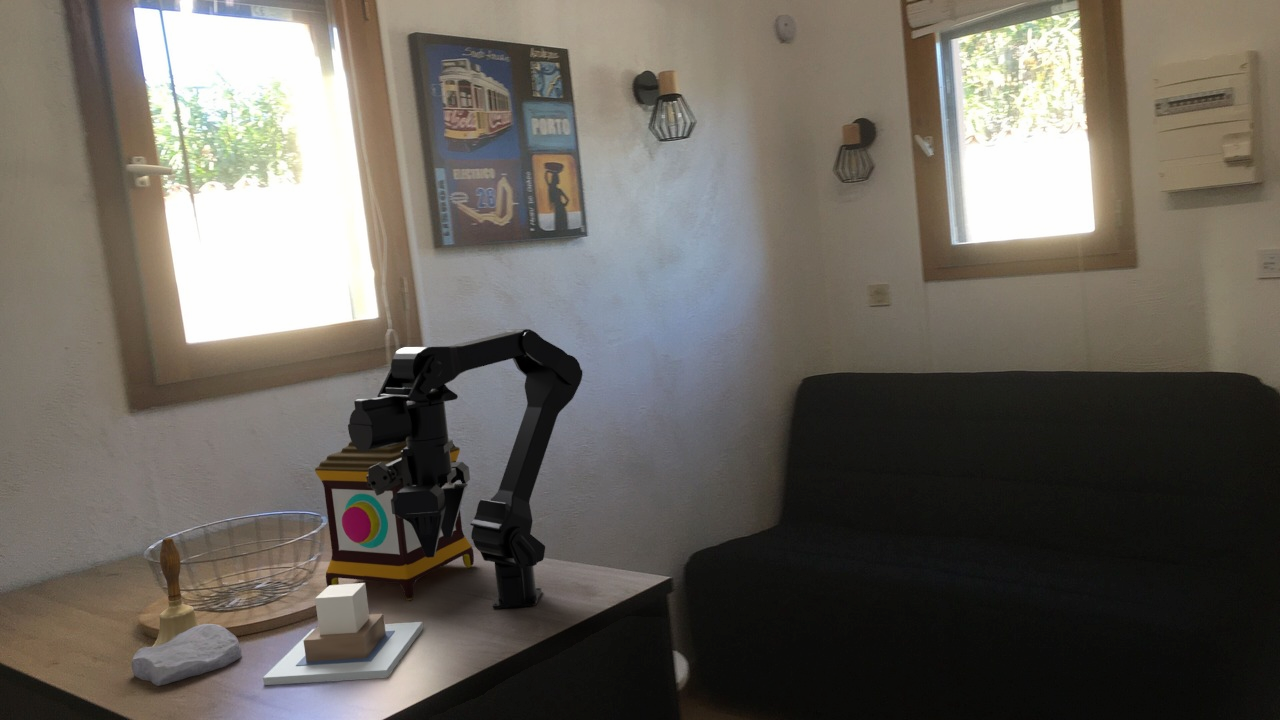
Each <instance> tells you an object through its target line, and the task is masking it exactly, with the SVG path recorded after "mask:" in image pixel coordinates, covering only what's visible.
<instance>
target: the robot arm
mask: <svg viewBox="0 0 1280 720" xmlns="http://www.w3.org/2000/svg"><path fill="white" fill-rule="evenodd" d="M511 359H512V361H513V363H514V366H515V367H516V370H518V371H519V372H520V373H521V374H522V375H524V376H525V381H524V382H525V383H524V391H525V392H524V393H525V397H526V402H527V404H526V408H525V411H524V414H523V417H522V420H521V423H520V426H519V428H518V431H517V435H516V438H515V440H514V443H513V447H512V449H511V453H510V455H509V458H508V462H507V464H506V467H505V469H504V473H503V477H502V478H501V481H500V484H499V487H498V490H497V491H496V493H495V494H494V496H492V497H491V498H490V499H489V500H488V499H482V498H481V499H480V500H479V502H478V504H477V508H476V513H475V515H474V517H473V520H472V521H470V526H472V530H471V533H470V534H471V535H470V536H471V540H472V541H473V545H474V547H475V548H476V549H477V551H479V552H480V554H481V557H482V559H483V561H484V562H492V563H494V570H495V572H494V573H495V579H496V590H497V595H496V597H495V600H494V601H493V602H492V609H505V608H507V609H508V608H518V607H519V608H521V607H533V606H536V605H537V604H538V601H539V599H540V596H541V595H542V592H543V590H542V588H541V587H536V577H535V567H534V566H537V565H538V563H540V562H542V561H543V560H544V559H545V558H544V557H545V553H546V552H545V551H546V545H544V544H543V543H542V542H541V541H539V540H538V539H537V538H536V537H535V536H533V535H532V534H531V533H532V527H533V516H532V510H531V504H530V502H531V498H532V495H533V491H534V489H535V485H536V482H537V479H538V477H539V473H540V469H541V467H542V465H543V462H544V461H543V460H544V458H545V455H546V452H547V449H548V446H549V443H550V439H551V436H552V433H553V431H554V428H555V424H556V422H557V417H558V416H559V413H560V412H561V411H562V410H563V409H564V408H565V407H566V406H567V405H568V404H569V403H570V402H571V401H572V400H573V399H574V397H575V395H576V393H577V391H578V388H579V387H580V385H581V382H582V379H583V369H581V366H580V363H579V361H578V359H577V358H576V357H575V356H573V355H570V354H568V353H567V352H565V350H563V349H561V348H560V347H558V346H557V345H555V344H553V343H552V342H549V341H547V340H545V339H544V338H542V336H540V335H539V334H538V333H537V332H536V331H534V330H532V329H530V328H529V329H528V328H524V329H523V328H521V329H509V330H507V331H506V332H503V333H498V334H494V335H491V336H490V335H489V336H486V337H481V338H477V339H474V340H473V339H472V340H469V341H465V342H461V343H460V342H459V343H456V344H451V345H444V346H405V347H402V348H399V349H398V350H396V351H395V352H394V355H393V357H392V359H391V363H390V370H388V373H387V375H386V377H385V379H384V382H383V384H382V386H381V387H380V390H379V392H378V394H377V396H376V397H372V398H359V399H355V400H354V410H353V411H352V412H351V414H350V416H349V423H348V424H347V431H348V435H349V439H350V442H351V441H352V443H353V445H354V446H355V447H356V448H357V449H358V450H359V451H361V452H365V451H369V450H374V449H378V448H382V447H387V446H391V445H395V444H400V443H403V442H404V441H405V440H406V444H407V447H405V448H404V449H403V450H402V451H401V458H399V459H397V460H395V461H393V462H391V463H389V464H386V465H385V464H384V463H382V462H380V463H378V464H376V465H374V466H371V467H370V468H368V475H367V476H366V479H367V484H366V485H367V487H368V488H372V489H373V490H374V492H375V494H376V496H378V495H380V494H383V493H384V492H385V491H386V490H388V489H390V488H392V487H394V486H397V485H399V484H401V483H403V488H402V489H401V490H400V491H398V492H397V493H396V494H395V496H394V497H393V498H392V499H391V507H392V514H394V515H397V516H398V517H399V518H403V519H405V520H406V521H408V522H409V523H411V525H412V527H413V529H414V531H415V533H416V535H417V537H418V540H419V542H420V544H421V546H422V549H423V551H424V553H425V556H426V557H427V558H430V557H434V556H435V552H436V548H437V544H438V540H439V535H440V531H441V530H442V533H443V536H444V538H449V537H451V536H452V534H453V530H454V527H455V524H456V520H457V517H458V513H459V510H460V511H461V506H462V503H463V501H464V498H465V494H466V491H467V489H468V486H469V484H468V482H469V481H470V480H471V474H470V467H469V466H468V465H467V464H466V463H464V462H463V461H456V462H451V457H450V449H451V448H452V447H453V444H454V440H453V438H452V439H449V431H448V422H447V414H446V413H447V412H446V404H445V402H450V401H455V400H457V399H458V394H457V393H456V392H454V391H452V390H450V388H448V386H447V384H448V383H450V382H452V381H453V380H455V379H456V378H458V376H459V375H460V374H463V373H464V372H467V371H470V370H474V369H477V368H481V367H485V366H488V365H489V366H490V365H493V364H496V363H500V362H504V361H508V360H511ZM459 481H460V482H461V483H459ZM413 485H416V486H413Z"/></svg>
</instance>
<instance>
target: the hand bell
mask: <svg viewBox="0 0 1280 720" xmlns="http://www.w3.org/2000/svg"><path fill="white" fill-rule="evenodd" d="M161 542H162V543H161V548H160V553H159V563H160V568H161V571H162V575H163V576H164V578H165V581H166V585H167V587H166V588H167V595H168V598H167V599H168V607H167V608H165V609H164V610H163V611H162V612H161V613H160V614H159V631H158V635H157V638H156V640H155V641H154V644H153V645H152V646H151V647H155V646H158V645H162V644H165V643H167V642H169V641H170V640H172V639H173V638H174V637H176V636H177V635H178V634H180V633H183V632H185V631H187V630H189V629H191V628H193V627H195V626H198V625H201V624H200V623H199V621H198V618H197V616H196V612H195V609H194V607H193V606H192V605H188V604H185V603H183V601H182V594H181V586H180V581H179V580H180V579H179V578H180V574H181V573H180V572H181V565H182V564H181V555H180V551H179V549H178V547H177V545H176V543H175V541H174V539H173V537H171V536H169V537H164V538H163V539H162V541H161Z"/></svg>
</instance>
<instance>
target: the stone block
mask: <svg viewBox="0 0 1280 720" xmlns="http://www.w3.org/2000/svg"><path fill="white" fill-rule="evenodd" d="M242 654H243V653H242V647H241V645H240V643H239V640H238V637H237V636H236V635H234V633H232V632H231V631H229V630H228V629H227V628H225V626H224V627H223V626H221V625H220V624H214V623H203V624H200V625H198V626H195V627H193V628H191V629H189V630H187V631H185V632H183V633H180V634H178V635H177V636H176V637H174V638H173V639H172V640H170V641H169V642H167V643H165V644H162V645H158V646H155V647H152V646H144V647H141V648H140V649H138V650H137V651H136V652H135V654H134V655H133V658H132V660H131V670H132V673H133V675H134V677H136V678H138V679H140V680H142V681H143V680H144V681H150V682H152V684H153V685H154V686H157V687H160V686H164V685H169V684H171V683H173V682H177V681H181V680H184V679H187V678H191V677H195V676H199V675H202V674H204V673H208V672H212V671H215V670H218V669H221V668H224V667H227V666H228V665H230V664H232V663H234V662H235V661H237V660H239V659H241V658H242V656H243V655H242Z"/></svg>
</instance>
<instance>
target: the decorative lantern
mask: <svg viewBox="0 0 1280 720" xmlns="http://www.w3.org/2000/svg"><path fill="white" fill-rule="evenodd" d="M455 445H456V444H454V443H453V447H452V448H451V449H450V457H451V462H457V461H458V457H459V454H460V451H461V449H460V447H458V446H455ZM405 447H407V444H406V440H405V441H404V442H403V443H400V444H395V445H391V446H387V447H382V448H378V449H374V450H369V451H365V452H361V451H359V450H358V449H357V448H356V447H355V446H354V445H353V443H352V441H351V440H350V441H349V442H348V444H347V446H344V447H343V448H341V451H339V452H335V453H331V454H328V455H327V457H326V458H325V459H324V460H322V461H321V462H320V463H319V464H318V466H317V467H315V469H314V472H315V474H316V476H317V477H318V479H319V480H320V481H321V483H322V485H323V490H324V498H325V505H326V514H327V522H328V529H329V530H328V531H329V539H330V543H331V544H330V545H331V558H330V561H329V563H328V566H327V569H326V572H325V581H326V582H325V583H326V588H327V587H328V586H329V585H340V583H339V579H346V580H347V579H348V580H359V581H360V580H361V581H371V582H381V583H382V582H383V583H390V584H391V583H394V584H397V585H400V586H401V588H402V592H403V595H404V597H405V599H406V600H408V601H411V600H413V598H414V593H415V592H414V590H415V589H414V587H415V583H416V582H417V581H418V580H419V579H420V578H423V577H425V576H427V575H428V574H431V573H432V572H434V571H436V570H438V569H440V568H441V567H444V566H445V565H447V564H449V563H451V562H453V561H456V560H458V559H459V558H462V561H463V562H462V563H463V564H464V566H465V567H466V568H469V569H470V568H471V567H473V566H474V562H475V556H474V555H475V554H474V548H473V546H472V544H471V543H470V542H469V539H467V537H466V535H465V534H464V531H463V526H462V524H463V523H462V516H461V514H462V513H461V509H460V510H459V513H458V517H457V520H456V524H455V527H454V530H453V534H452V536H451V537H449V538H444V536H443V533H442V530H441V531H440V535H439V540H438V544H437V548H436V552H435V556H434V557H430V558H427V557H426V556H425V553H424V551H423V549H422V546H421V544H420V542H419V540H418V537H417V535H416V533H415V531H414V529H413V527H412V525H411V523H409V522H408V521H406V520H405V519H403V518H399V517H398V516H397V515H394V514H392V507H391V499H392V498H393V497H394V496H395V494H396V493H397V492H398V491H400V490H401V489H402V488H403V483H401V484H399V485H397V486H394V487H392V488H390V489H388V490H386V491H385V492H384V493H383V494H380V495H378V496H376V494H375V492H374V490H373V489H372V488H368V487H367V485H366V484H367V479H366V476H367V475H368V468H370V467H371V466H374V465H376V464H378V463H380V462H382V463H384V464H385V465H386V464H389V463H391V462H393V461H395V460H397V459H399V458H401V451H402V450H403V449H404V448H405ZM413 486H416V485H413Z"/></svg>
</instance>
